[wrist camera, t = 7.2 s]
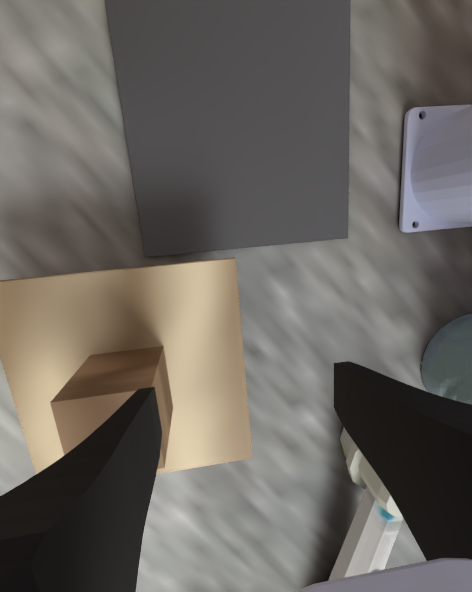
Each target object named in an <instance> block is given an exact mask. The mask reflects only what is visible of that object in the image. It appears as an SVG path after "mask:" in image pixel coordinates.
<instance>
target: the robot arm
mask: <svg viewBox="0 0 472 592" xmlns="http://www.w3.org/2000/svg"><path fill="white" fill-rule="evenodd" d="M419 113H420V114H421V115H422V119H420V118H419ZM413 222H415V226H414V227H412V223H413ZM461 227H472V104H471V105H451V106H431V107H415V108H412V109H410V110H409V111H407V113H406V114H405V122H404V141H403V161H402V180H401V200H400V219H399V228H400V230H401V231H402V232H419V231H429V230H440V229H451V228H461ZM334 408H335V410H336V412H337V414H338V417H339V419H340V420H341V422H342V424H343V426H344V428H345V430H346V431H347V433H348V434H349V436H350V437H351V438H352V440H353V441H354V443H355V444H356V446H357V447H358V448H359V450H360V451H361V453H362V454H363V456H364V457H365V458H366V460H367V461H368V463H369V464H370V465H371V467H372V468H373V470H374V471H375V472H376V474H377V475H378V477H379V478H380V480H381V481H382V483H383V484H384V486H385V487H386V489H387V490H388V492H389V493H390V495H391V497H392V499H393V500H394V502H395V504H396V506H397V507H398V509H399V511H400V513H401V514H402V516H403V518H404V519H405V521H406V523H407V525H408V527H409V529H410V530H411V532H412V534H413V536H414V538H415V540H416V541H417V543H418V545H419V547H420V549H421V551H422V552H423V554H424V556H425V558H426V560H427V561H425V562H420V563H415V564H410V565H405V566H400V567H395V568H390V569H385V570H380V571H375V572H370V573H365V574H360V575H355V576H350V577H345V578H340V579H335V580H330V581H325V582H320V583H315V584H312V585H309V586H307V587H304V588H302V589H300V590H297V591H295V592H472V405H471V404H467V403H463V402H459V401H455V400H452V399H449V398H445V397H442V396H438V395H435V394H432V393H429V392H426V391H423V390H421V389H418V388H415V387H412V386H410V385H407V384H404V383H402V382H399V381H397V380H394V379H392V378H389V377H387V376H385V375H382V374H380V373H377V372H375V371H373V370H370V369H368V368H365V367H363V366H360V365H358V364H355V363H352V362H349V361H348V362H340V363H334ZM161 440H162V428H161V422H160V416H159V410H158V404H157V398H156V392H155V387H149V388H141V389H138V390H137V391H136V392H135V393H134V394H133V395H132V396H131V397H130V398H129V399H128V400H127V401H126V402H125V403H124V404H123V405H122V406H121V407H120V408H119V409H118V410H116V411H115V412H114V413H113V414H112V415H111V416H110V417H109V418H108V419H107V420H106V421H105V422H104V423H103V424H102V425H101V426H99V427H98V428H97V429H96V430H95V431H94V432H93V433H92V434H90V435H89V436H88V437H87V438H86V439H85V440H83V441H82V442H81V443H80V444H79V445H77V446H76V447H75V448H73V449H72V450H71V451H69V452H68V453H67V454H65V455H64V456H63V457H61V458H60V459H59V460H57V461H56V462H54V463H53V464H51V465H50V466H48V467H47V468H45V469H44V470H42V471H41V472H39V473H38V474H36V475H35V476H33V477H32V478H30V479H29V480H27V481H26V482H24V483H22V484H21V485H19V486H17V487H16V488H14V489H12V490H10V491H9V492H7V493H5V494H4V495H2V496H0V592H135V591H136V583H137V574H138V567H139V559H140V552H141V544H142V537H143V531H144V526H145V521H146V516H147V512H148V507H149V503H150V499H151V494H152V490H153V486H154V481H155V477H156V472H157V468H158V463H159V459H160V450H161Z"/></svg>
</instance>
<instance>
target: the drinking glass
mask: <svg viewBox="0 0 472 592" xmlns="http://www.w3.org/2000/svg"><path fill="white" fill-rule="evenodd" d="M421 367H422V370H421V373H422V379H423V382H424V385H425V387H426V389H427V391H428V392H429V393H432V394H435V395H438V396H442V397H445V398H449V399H452V400H455V401H459V402H463V403H467V404H471V405H472V314H468V315H464V316H461V317H458V318H456V319H454V320H452V321H451V322H449V323H447V324H446V325H445V326H444V327H442V328H441V329H440V330H439V331H438V332H437V333H436V334H435V336H434V337H433V338H432V339H431V341H430V342H429V343H428V345H427V348H426V350H425V353H424V355H423V360H422V361H421Z"/></svg>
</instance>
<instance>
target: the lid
mask: <svg viewBox="0 0 472 592" xmlns="http://www.w3.org/2000/svg"><path fill="white" fill-rule="evenodd" d="M0 357H1V361H2V364H3V367H4V370H5V374H6V377H7V380H8V384H9V387H10V390H11V393H12V397H13V400H14V403H15V407H16V410H17V413H18V416H19V420H20V423H21V426H22V430H23V433H24V436H25V439H26V443H27V446H28V449H29V453H30V456H31V459H32V462H33V466H34V469H35V472H36V474H38V473H39V472H41V471H42V470H44V469H45V468H47V467H48V466H50V465H51V464H53V463H54V462H56V461H57V460H59V459H60V458H61V457H63V456H64V455H65V454H67V453H68V452H69V451H71V450H72V449H73V448H75V447H76V446H77V445H79V444H80V443H81V442H82V441H83V440H85V439H86V438H87V437H88V436H89V435H90V434H92V433H93V432H94V431H95V430H96V429H97V428H98V427H99V426H101V425H102V424H103V423H104V422H105V421H106V420H107V419H108V418H109V417H110V416H111V415H112V414H113V413H114V412H115V411H116V410H118V409H119V408H120V407H121V406H122V405H123V404H124V403H125V402H126V401H127V400H128V399H129V398H130V397H131V396H132V395H133V394H134V393H135V392H136V391H137V390H138V389H141V388H149V387H155V392H156V398H157V404H158V410H159V416H160V422H161V428H162V440H161V450H160V459H159V463H158V468H157V472H156V474H160V473H166V472H172V471H178V470H184V469H190V468H196V467H202V466H208V465H214V464H220V463H226V462H232V461H238V460H244V459H250V458H252V447H251V435H250V423H249V411H248V399H247V387H246V375H245V364H244V352H243V340H242V328H241V316H240V304H239V292H238V280H237V269H236V259H235V258H224V259H214V260H204V261H194V262H184V263H173V264H163V265H153V266H143V267H133V268H123V269H112V270H102V271H92V272H82V273H72V274H62V275H51V276H41V277H31V278H21V279H11V280H1V281H0Z"/></svg>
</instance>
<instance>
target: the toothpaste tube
mask: <svg viewBox="0 0 472 592" xmlns="http://www.w3.org/2000/svg"><path fill="white" fill-rule="evenodd" d="M340 441H341V443H342V447H343V451H344V454H345V456H346V458H347V459H346V463H347V467H348V471H349V474H350V476H351V478H352V480H353V482H354V483H356V484H358V485H359V486H361V487H362V488H364V489H365V492H364V494H363V497H362V499H361V502H360V504H359V507H358V509H357V511H356V514H355V516H354V519H353V521H352V524H351V526H350V529H349V531H348V533H347V536H346V538H345V541H344V543H343V546H342V548H341V551H340V553H339V555H338V558H337V560H336V563H335V565H334V568H333V570H332V572H331V575H330V577H329V580H328V581H330V580H335V579H340V578H345V577H350V576H355V575H360V574H365V573H370V572H375V571H380V570H384V568H385V565H386V563H387V560H388V557H389V555H390V552H391V549H392V547H393V544H394V541H395V539H396V536H397V533H398V531H399V528H400V525H401V523H402V520H403V516H402V514H401V513H400V511H399V509H398V507H397V506H396V504H395V502H394V500H393V499H392V497H391V495H390V493H389V492H388V490H387V489H386V487H385V486H384V484H383V483H382V481H381V480H380V478H379V477H378V475H377V474H376V472H375V471H374V470H373V468H372V467H371V465H370V464H369V463H368V461H367V460H366V458H365V457H364V456H363V454H362V453H361V451H360V450H359V448H358V447H357V446H356V444H355V443H354V441H353V440H352V438H351V437H350V436H349V434H348V433H347V431H346V430H345V428H343V431H342V434H341V437H340Z"/></svg>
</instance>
